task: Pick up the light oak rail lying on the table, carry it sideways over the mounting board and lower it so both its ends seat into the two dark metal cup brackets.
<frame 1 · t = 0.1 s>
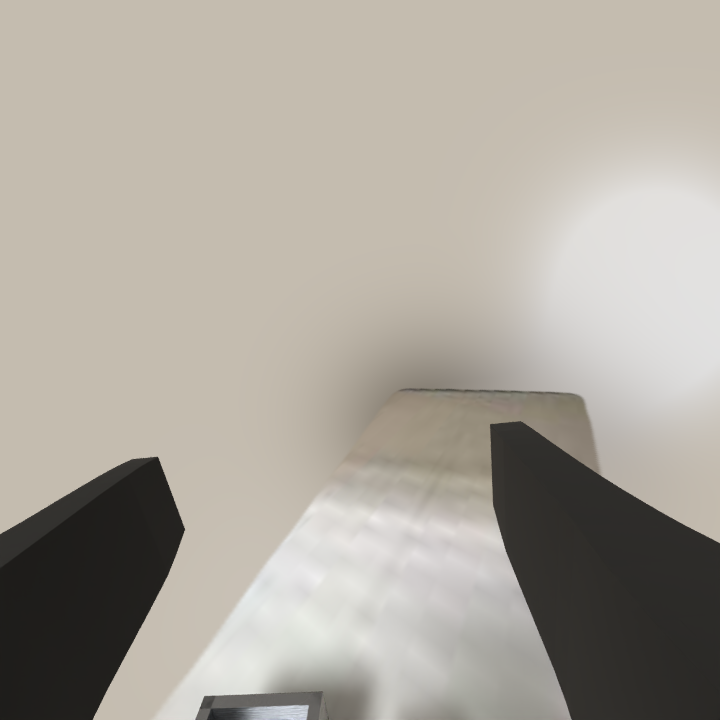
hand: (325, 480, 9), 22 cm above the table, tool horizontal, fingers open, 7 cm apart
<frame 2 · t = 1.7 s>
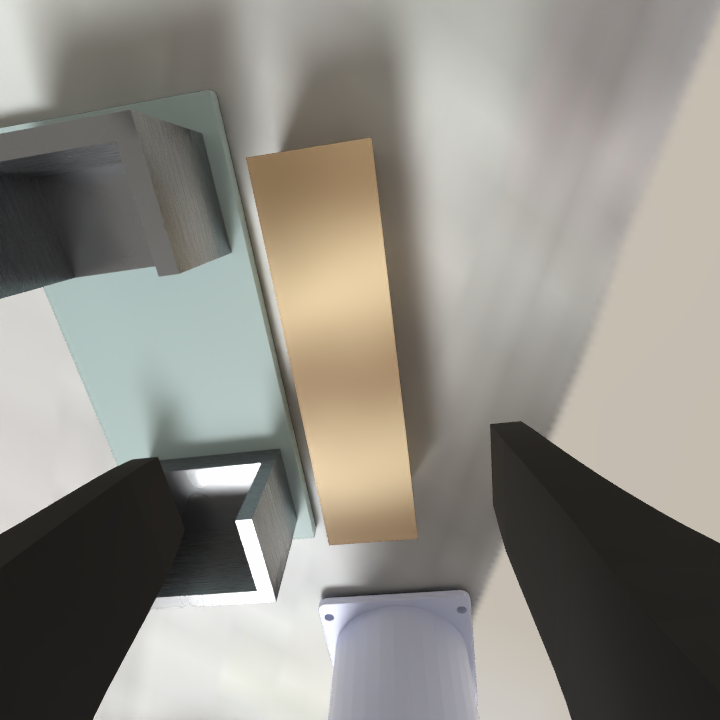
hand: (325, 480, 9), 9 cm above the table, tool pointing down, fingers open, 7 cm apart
rail: (353, 340, 18), on the table
board: (181, 363, 18), on the table
bracket b: (147, 216, 16), resting on board
bracket a: (227, 477, 20), resting on board
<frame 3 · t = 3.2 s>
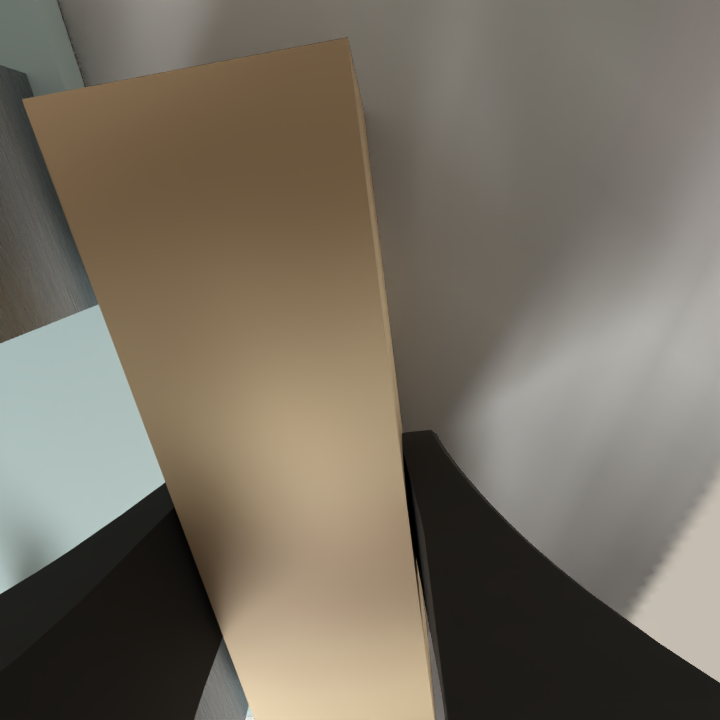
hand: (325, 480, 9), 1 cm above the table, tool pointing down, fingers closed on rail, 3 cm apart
rail: (333, 440, 11), on the table, touching gripper
board: (53, 471, 11), on the table
bracket a: (145, 628, 13), resting on board
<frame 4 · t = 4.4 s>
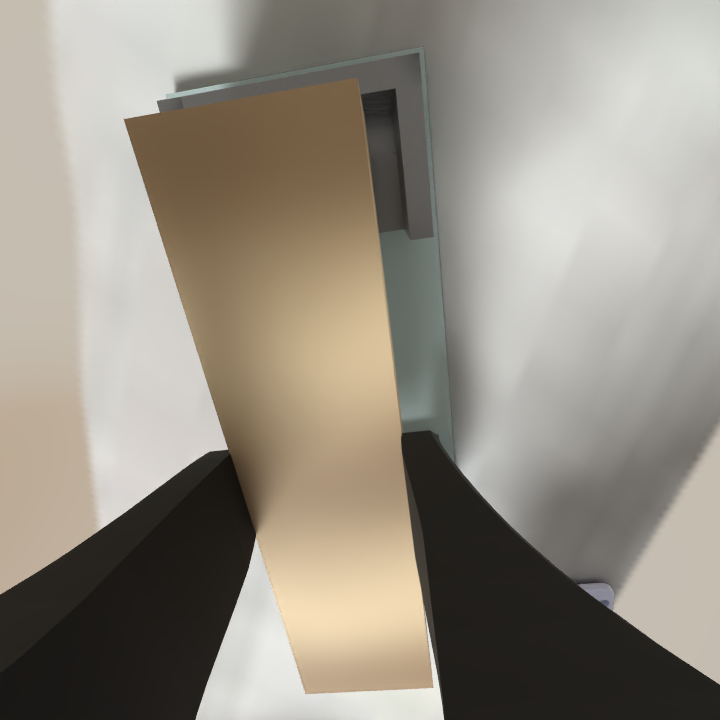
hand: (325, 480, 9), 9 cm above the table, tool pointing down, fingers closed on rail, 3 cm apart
rail: (338, 395, 12), point 5 cm above the table, touching gripper
board: (340, 344, 17), on the table
bracket b: (327, 186, 15), resting on board
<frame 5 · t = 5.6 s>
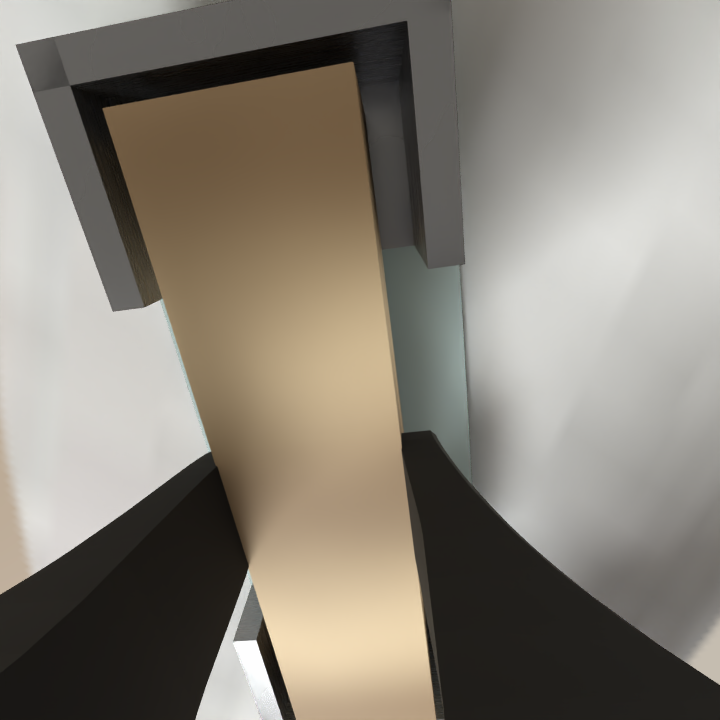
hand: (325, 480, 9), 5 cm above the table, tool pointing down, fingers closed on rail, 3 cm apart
rail: (337, 407, 12), point 2 cm above the table, touching bracket a, bracket b, gripper
board: (329, 390, 13), on the table
bracket b: (309, 186, 11), resting on board
bracket a: (369, 535, 16), resting on board
when the fingers open (5 cm above the table, at t = 5.9 s): rail stays where it is, resting on bracket a, bracket b.
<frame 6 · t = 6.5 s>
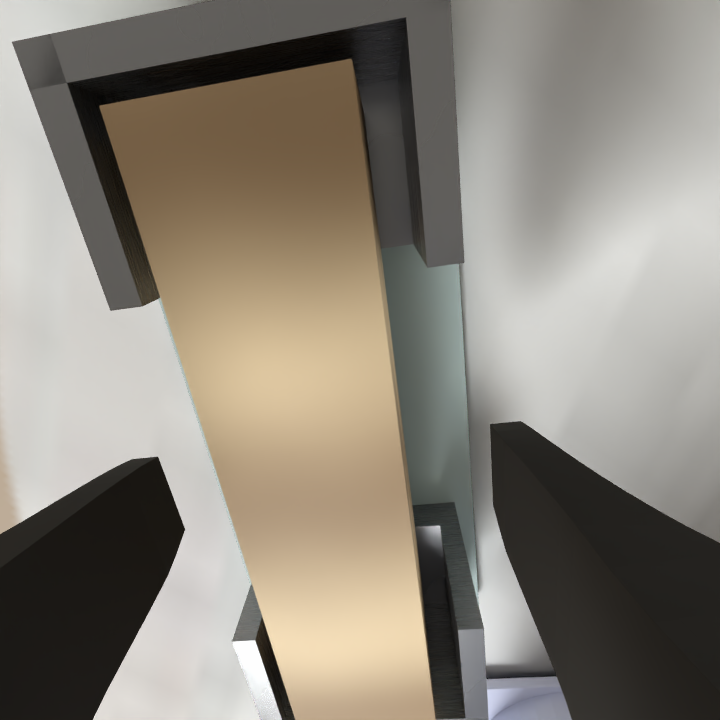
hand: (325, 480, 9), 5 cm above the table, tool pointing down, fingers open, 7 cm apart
rail: (336, 406, 12), point 2 cm above the table, touching bracket a, bracket b
board: (328, 389, 13), on the table
bracket b: (308, 185, 11), resting on board
bracket a: (369, 534, 16), resting on board
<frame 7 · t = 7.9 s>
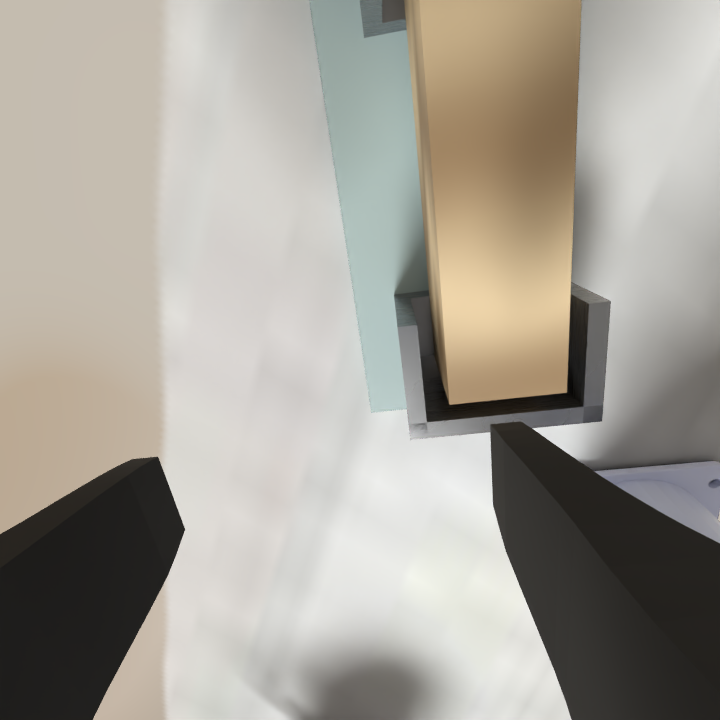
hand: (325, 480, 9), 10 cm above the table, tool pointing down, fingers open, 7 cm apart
rail: (470, 157, 14), point 2 cm above the table, touching bracket a, bracket b
board: (450, 168, 16), on the table
bracket a: (471, 321, 18), resting on board
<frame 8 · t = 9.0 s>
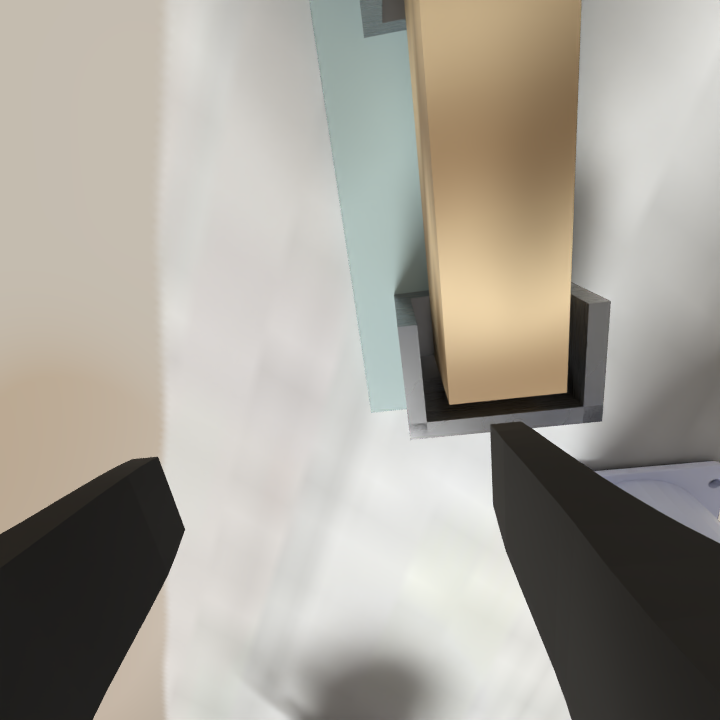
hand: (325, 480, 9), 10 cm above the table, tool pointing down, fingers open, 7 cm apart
rail: (470, 157, 14), point 2 cm above the table, touching bracket a, bracket b
board: (450, 168, 16), on the table
bracket a: (471, 321, 18), resting on board
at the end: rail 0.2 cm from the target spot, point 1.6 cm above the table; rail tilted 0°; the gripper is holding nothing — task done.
